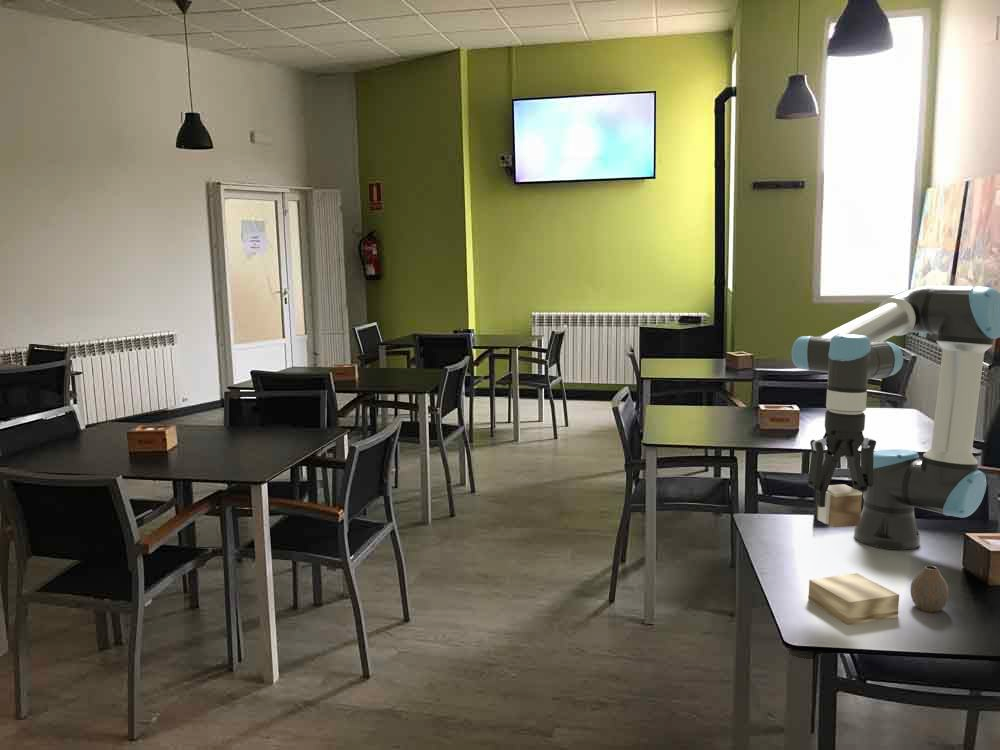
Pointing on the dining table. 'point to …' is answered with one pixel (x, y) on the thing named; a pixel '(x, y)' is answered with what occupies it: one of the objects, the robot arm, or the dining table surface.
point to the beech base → (853, 598)
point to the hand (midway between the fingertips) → (838, 520)
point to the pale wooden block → (844, 506)
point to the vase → (929, 590)
